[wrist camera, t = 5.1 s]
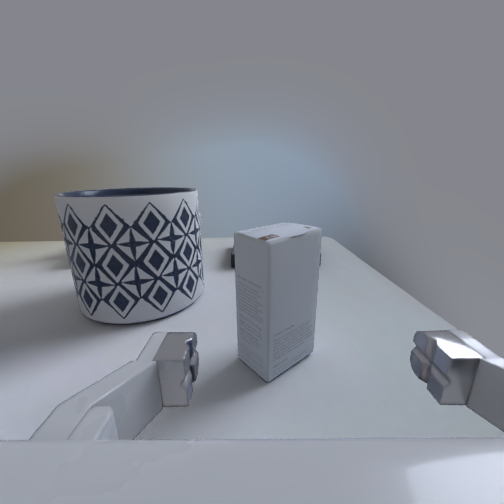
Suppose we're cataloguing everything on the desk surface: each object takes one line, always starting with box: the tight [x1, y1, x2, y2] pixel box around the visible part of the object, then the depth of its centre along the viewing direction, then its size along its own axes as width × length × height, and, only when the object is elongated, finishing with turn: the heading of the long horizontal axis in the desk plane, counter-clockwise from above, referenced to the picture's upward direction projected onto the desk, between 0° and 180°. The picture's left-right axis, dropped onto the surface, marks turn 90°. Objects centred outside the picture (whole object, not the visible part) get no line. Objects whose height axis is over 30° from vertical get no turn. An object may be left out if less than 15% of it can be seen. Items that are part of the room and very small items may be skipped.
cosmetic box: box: [234, 223, 322, 382], centre depth 22 cm, size 6×4×12 cm
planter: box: [55, 187, 204, 324], centre depth 34 cm, size 16×16×14 cm
